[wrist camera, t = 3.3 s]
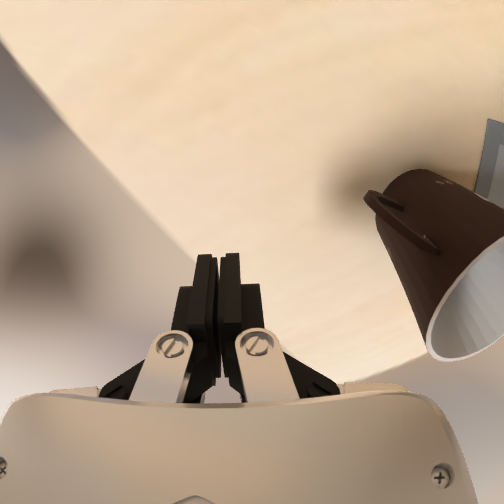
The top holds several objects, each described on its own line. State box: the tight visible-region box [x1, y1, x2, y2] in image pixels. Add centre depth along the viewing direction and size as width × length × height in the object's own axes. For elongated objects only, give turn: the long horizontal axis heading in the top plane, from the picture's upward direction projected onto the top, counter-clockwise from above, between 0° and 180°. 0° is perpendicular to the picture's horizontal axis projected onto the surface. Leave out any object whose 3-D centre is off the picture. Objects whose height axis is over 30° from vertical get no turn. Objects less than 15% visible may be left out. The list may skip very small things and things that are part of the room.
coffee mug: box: [364, 169, 504, 362], centre depth 15 cm, size 12×9×10 cm
